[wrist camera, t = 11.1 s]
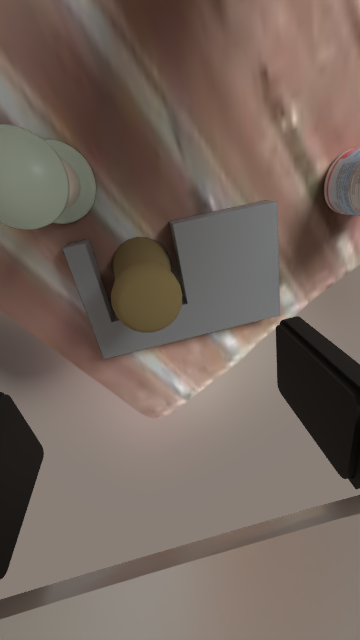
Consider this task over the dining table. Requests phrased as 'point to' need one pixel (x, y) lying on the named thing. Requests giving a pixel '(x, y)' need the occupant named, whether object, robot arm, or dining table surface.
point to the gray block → (196, 278)
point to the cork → (144, 286)
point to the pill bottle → (344, 183)
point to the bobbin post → (42, 180)
